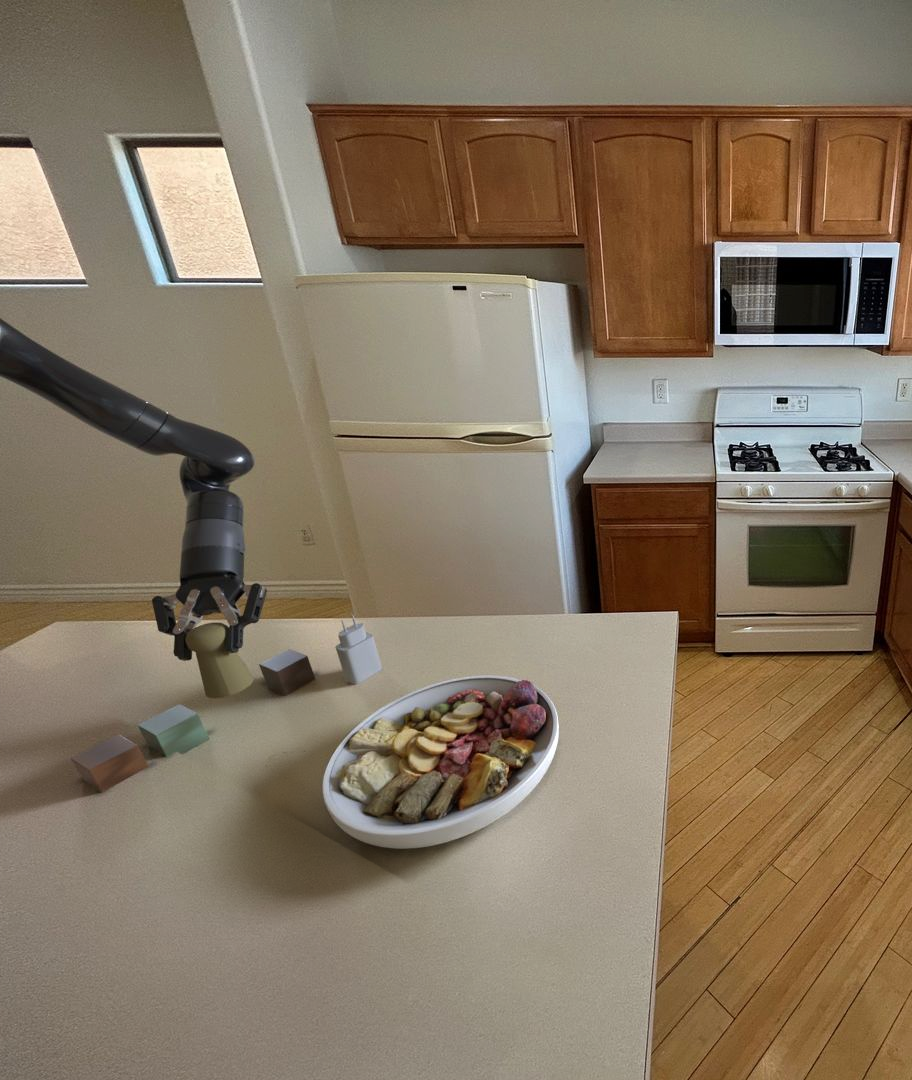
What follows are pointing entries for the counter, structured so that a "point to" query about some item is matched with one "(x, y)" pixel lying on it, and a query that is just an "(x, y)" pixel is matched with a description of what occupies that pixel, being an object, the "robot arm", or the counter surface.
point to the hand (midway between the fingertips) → (208, 655)
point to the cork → (217, 661)
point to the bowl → (441, 761)
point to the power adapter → (357, 653)
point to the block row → (177, 728)
